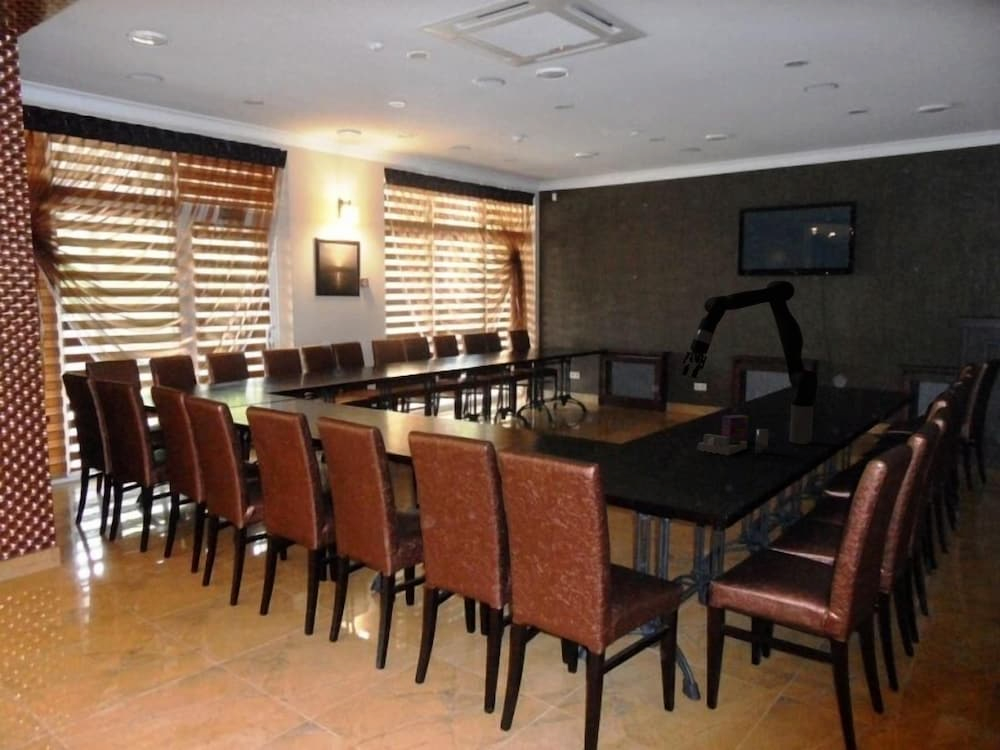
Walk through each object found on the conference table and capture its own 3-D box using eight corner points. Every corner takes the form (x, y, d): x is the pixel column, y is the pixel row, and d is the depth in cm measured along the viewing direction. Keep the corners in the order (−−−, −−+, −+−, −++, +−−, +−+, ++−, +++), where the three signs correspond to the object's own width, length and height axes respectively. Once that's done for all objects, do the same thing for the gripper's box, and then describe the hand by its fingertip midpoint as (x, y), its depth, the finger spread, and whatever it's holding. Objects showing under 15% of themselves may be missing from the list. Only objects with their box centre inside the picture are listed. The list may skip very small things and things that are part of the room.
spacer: (757, 451, 309) (758, 428, 308) (769, 452, 306) (770, 429, 304) (753, 453, 305) (754, 429, 304) (764, 454, 302) (766, 431, 301)
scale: (716, 443, 323) (716, 428, 322) (746, 448, 314) (747, 432, 313) (697, 450, 309) (698, 434, 308) (729, 455, 300) (729, 439, 299)
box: (729, 443, 324) (730, 417, 322) (720, 441, 329) (722, 415, 328) (747, 442, 328) (749, 416, 326) (739, 439, 333) (740, 414, 331)
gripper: (717, 345, 307) (703, 381, 307) (701, 342, 320) (687, 377, 321) (702, 339, 305) (689, 375, 305) (686, 337, 319) (673, 371, 319)
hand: (688, 376), depth 313 cm, fingers open, 8 cm apart
